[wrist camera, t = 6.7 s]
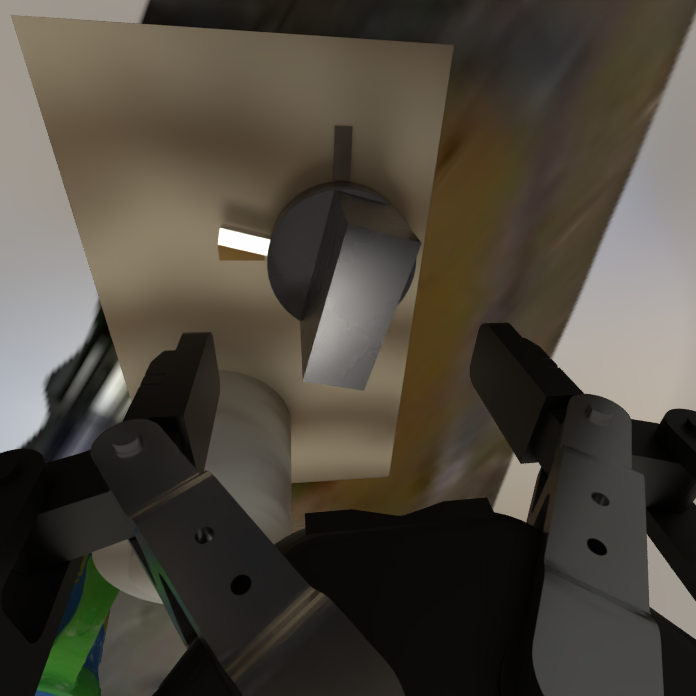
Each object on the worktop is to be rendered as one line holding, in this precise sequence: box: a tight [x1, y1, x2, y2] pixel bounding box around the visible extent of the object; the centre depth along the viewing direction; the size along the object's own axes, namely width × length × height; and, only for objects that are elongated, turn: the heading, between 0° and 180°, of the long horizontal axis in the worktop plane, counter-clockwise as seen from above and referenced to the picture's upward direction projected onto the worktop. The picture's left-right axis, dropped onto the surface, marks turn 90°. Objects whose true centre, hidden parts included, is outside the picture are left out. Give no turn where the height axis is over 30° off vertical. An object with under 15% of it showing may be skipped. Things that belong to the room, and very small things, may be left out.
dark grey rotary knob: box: [218, 181, 422, 391], centre depth 16 cm, size 8×6×6 cm
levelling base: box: [11, 15, 454, 604], centre depth 18 cm, size 24×15×11 cm, turn 177°
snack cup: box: [35, 553, 120, 696], centre depth 28 cm, size 16×10×10 cm
